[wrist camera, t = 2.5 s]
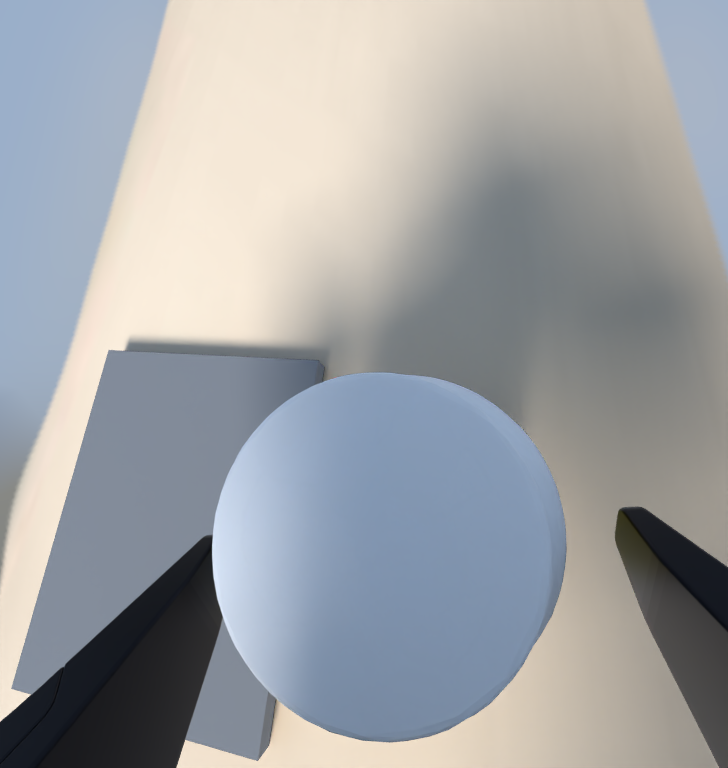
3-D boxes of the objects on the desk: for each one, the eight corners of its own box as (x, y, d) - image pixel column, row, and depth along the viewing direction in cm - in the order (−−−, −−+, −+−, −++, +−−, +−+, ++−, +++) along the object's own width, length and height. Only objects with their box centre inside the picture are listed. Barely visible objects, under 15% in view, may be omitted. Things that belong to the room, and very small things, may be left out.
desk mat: (268, 745, 16) (257, 760, 15) (33, 679, 19) (11, 688, 18) (324, 366, 20) (318, 360, 19) (122, 356, 23) (108, 350, 22)
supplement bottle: (437, 403, 19) (413, 226, 7) (543, 527, 16) (802, 607, 4) (323, 493, 19) (83, 484, 6) (413, 629, 16) (307, 1001, 4)
